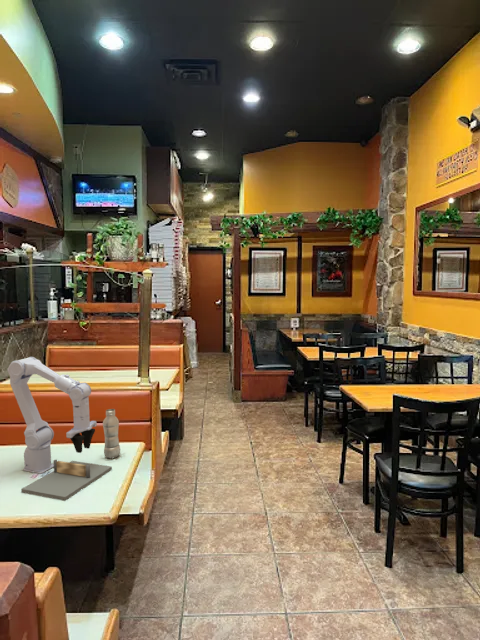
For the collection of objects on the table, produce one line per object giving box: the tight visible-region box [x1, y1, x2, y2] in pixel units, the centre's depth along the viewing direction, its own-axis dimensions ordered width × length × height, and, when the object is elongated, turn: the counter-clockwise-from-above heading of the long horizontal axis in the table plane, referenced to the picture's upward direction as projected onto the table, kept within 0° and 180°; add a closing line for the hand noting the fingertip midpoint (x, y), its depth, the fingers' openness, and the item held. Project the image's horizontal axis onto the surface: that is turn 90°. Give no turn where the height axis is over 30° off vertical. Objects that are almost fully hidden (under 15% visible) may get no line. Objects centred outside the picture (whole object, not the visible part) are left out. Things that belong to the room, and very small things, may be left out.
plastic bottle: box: [102, 408, 121, 459], centre depth 174 cm, size 6×7×20 cm
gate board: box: [20, 459, 113, 501], centre depth 154 cm, size 19×25×6 cm
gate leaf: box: [56, 460, 86, 477], centre depth 156 cm, size 13×1×4 cm, turn 71°
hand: (83, 450), depth 161 cm, fingers open, 4 cm apart
